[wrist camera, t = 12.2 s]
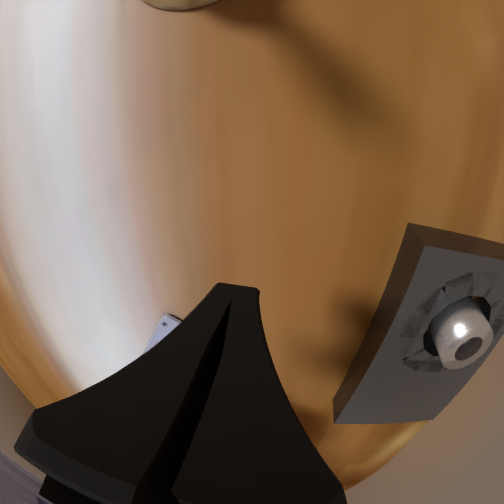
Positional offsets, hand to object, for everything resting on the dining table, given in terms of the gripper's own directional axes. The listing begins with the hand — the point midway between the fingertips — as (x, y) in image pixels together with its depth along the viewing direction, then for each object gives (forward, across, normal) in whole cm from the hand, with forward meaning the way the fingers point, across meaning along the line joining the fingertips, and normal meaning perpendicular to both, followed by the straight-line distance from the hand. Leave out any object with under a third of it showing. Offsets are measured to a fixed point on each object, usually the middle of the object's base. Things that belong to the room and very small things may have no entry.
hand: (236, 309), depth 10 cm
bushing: (+9, -15, +6) cm, 19 cm away
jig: (+9, -15, +10) cm, 20 cm away
